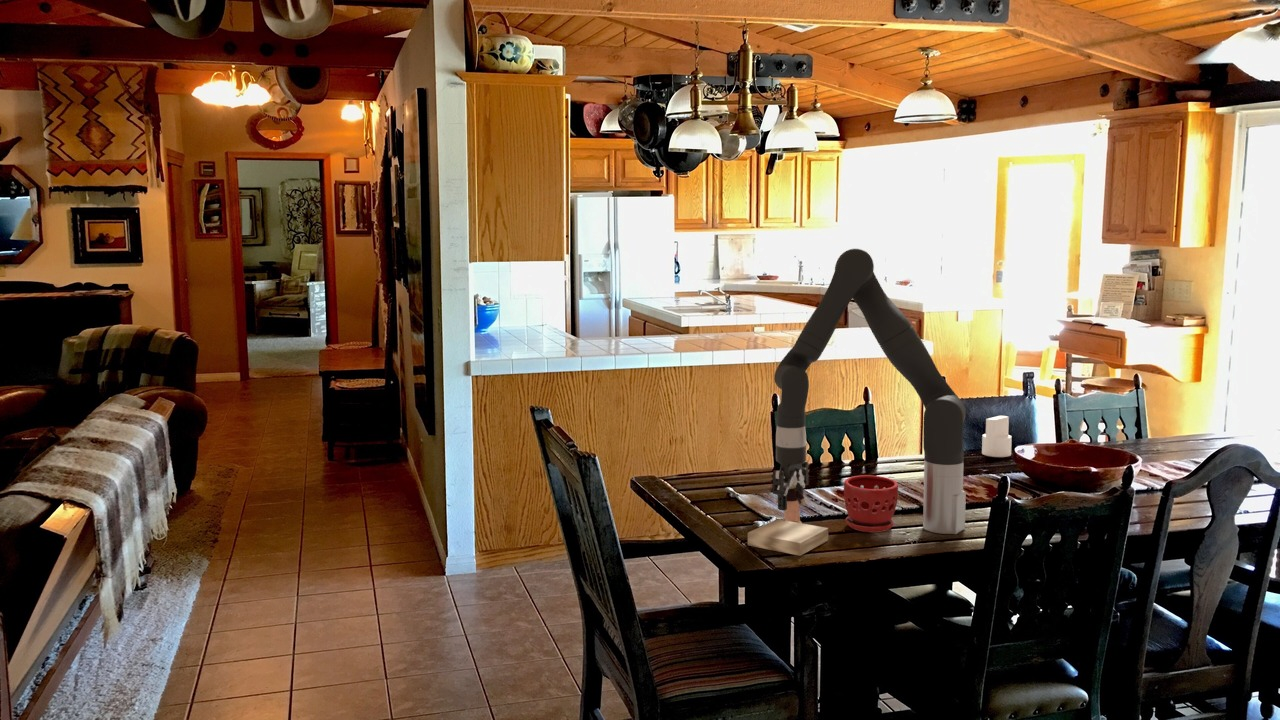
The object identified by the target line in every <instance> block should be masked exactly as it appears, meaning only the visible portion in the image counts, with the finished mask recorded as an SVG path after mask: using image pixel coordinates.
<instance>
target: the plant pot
mask: <svg viewBox="0 0 1280 720" xmlns="http://www.w3.org/2000/svg"><path fill="white" fill-rule="evenodd" d="M862 486H863V487H862ZM875 487H877V488H875ZM898 497H899V483H898V482H897V481H896V480H894V479H892V478H889V477H886V476H879V475H871V474H869V475H867V474H863V475H862V474H860V475H854V476H850V477H847V478H845V480H844V482H843V499H844V505H845V510H846V512H847V515H848V516H847V517H846V518H845V522H846V524H847V525H848V526H849V528H851V529H852V530H856V531H859V532H863V533H882V532H886V531H888V530H890V529H892V528H893V526H894V520H893V519H892V518H893V515H894V514H895V510H896V508H897V503H898Z"/></svg>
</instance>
